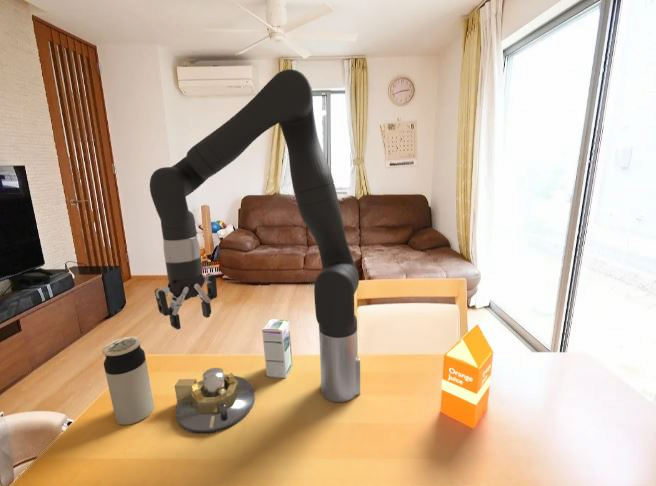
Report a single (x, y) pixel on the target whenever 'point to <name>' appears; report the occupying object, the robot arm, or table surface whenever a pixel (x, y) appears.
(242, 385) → the cap plate
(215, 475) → the table surface
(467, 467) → the table surface
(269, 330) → the syrup box
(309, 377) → the table surface
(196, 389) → the ring nut
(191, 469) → the table surface
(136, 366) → the travel mug
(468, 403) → the orange juice
